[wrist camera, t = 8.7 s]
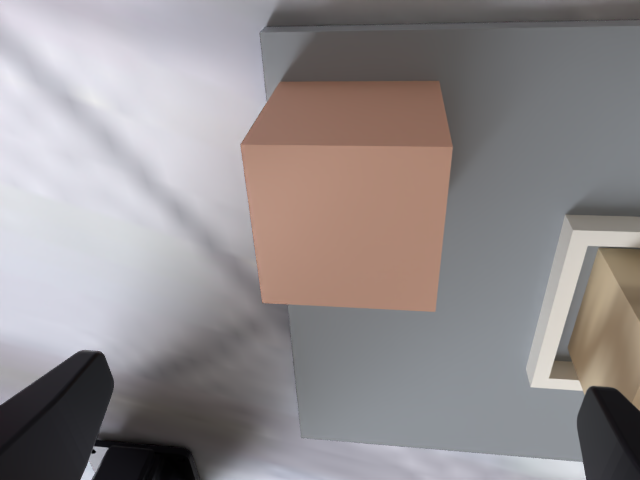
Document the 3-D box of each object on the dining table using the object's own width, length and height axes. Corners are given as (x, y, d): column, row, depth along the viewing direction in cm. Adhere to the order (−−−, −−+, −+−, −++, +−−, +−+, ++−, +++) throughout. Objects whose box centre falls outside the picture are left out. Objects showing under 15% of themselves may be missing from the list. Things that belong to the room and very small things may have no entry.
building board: (712, 458, 25) (732, 494, 24) (303, 425, 28) (297, 455, 26) (993, 12, 14) (1063, 27, 12) (265, 26, 16) (252, 40, 15)
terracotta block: (427, 219, 19) (435, 311, 15) (291, 215, 19) (262, 303, 15) (439, 80, 16) (452, 146, 12) (279, 81, 17) (240, 144, 12)
